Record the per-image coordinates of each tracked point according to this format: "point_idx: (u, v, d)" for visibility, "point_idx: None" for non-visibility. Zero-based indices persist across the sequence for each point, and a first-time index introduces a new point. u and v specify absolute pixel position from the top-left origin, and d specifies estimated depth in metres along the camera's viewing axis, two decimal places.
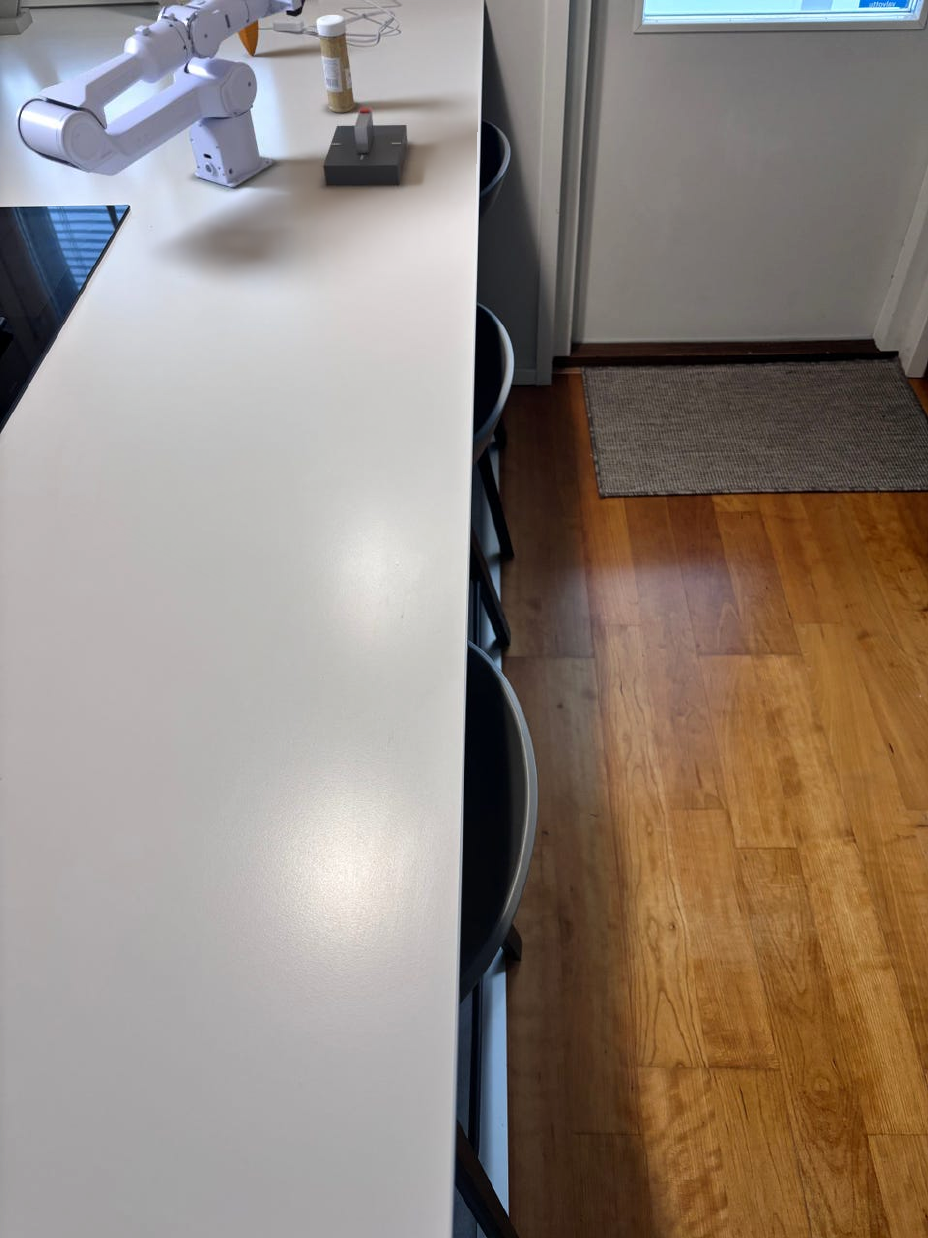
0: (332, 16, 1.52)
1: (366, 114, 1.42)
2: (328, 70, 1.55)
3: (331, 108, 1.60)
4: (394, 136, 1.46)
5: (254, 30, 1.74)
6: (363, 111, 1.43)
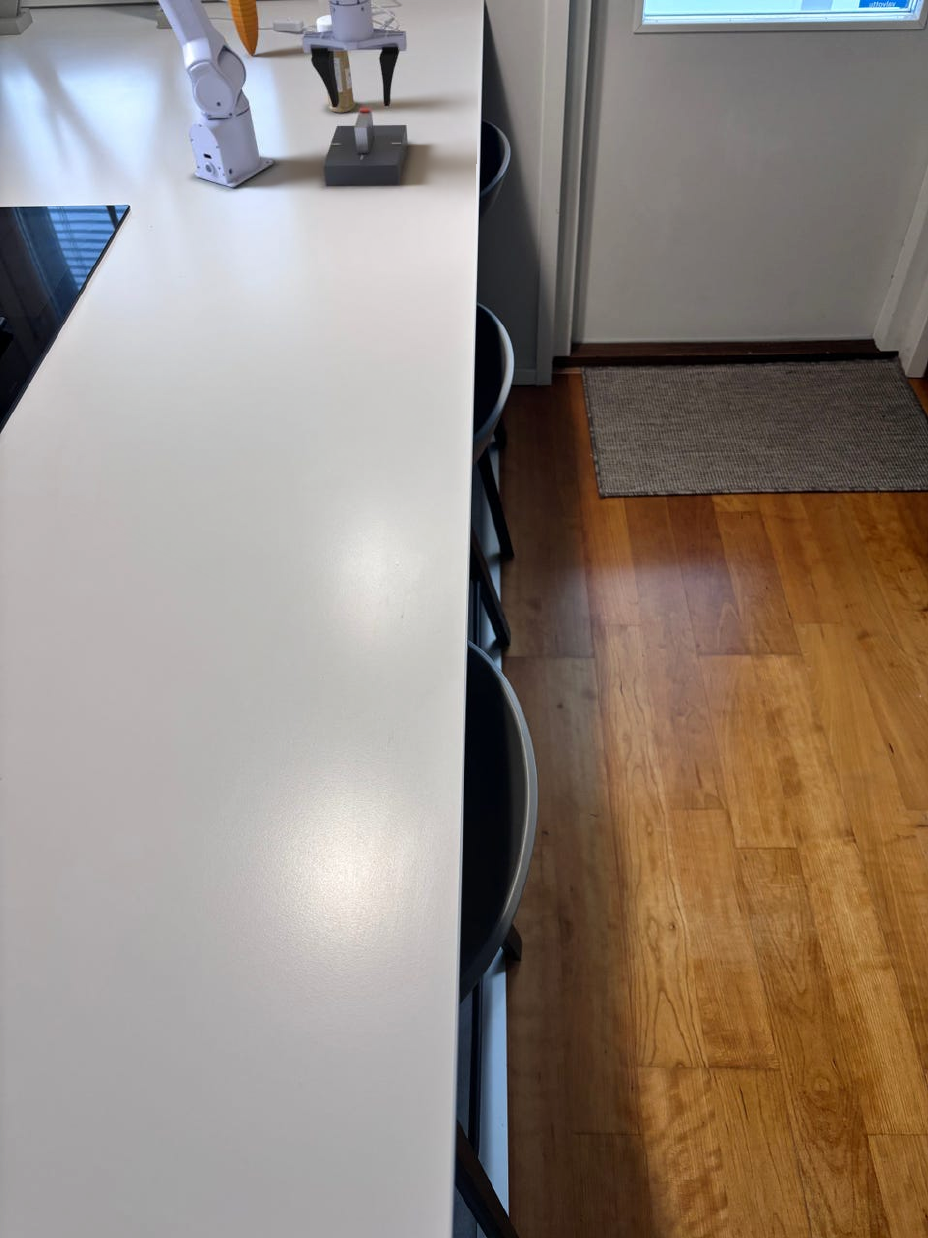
0: None
1: (366, 114, 1.42)
2: None
3: (331, 108, 1.60)
4: (394, 136, 1.46)
5: (254, 30, 1.74)
6: (363, 111, 1.43)
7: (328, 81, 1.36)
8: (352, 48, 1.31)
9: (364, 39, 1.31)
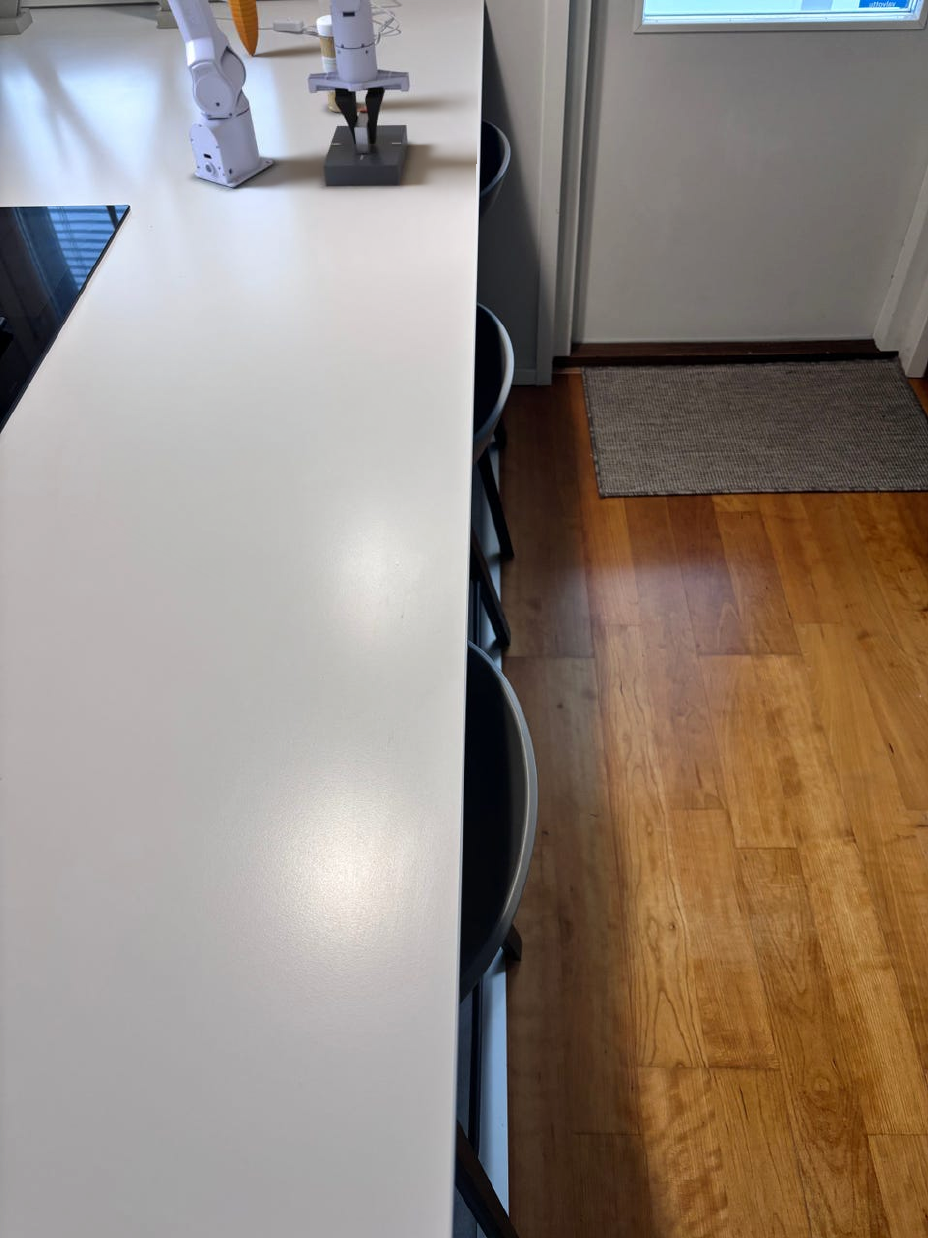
0: None
1: (366, 114, 1.42)
2: (328, 70, 1.55)
3: (331, 108, 1.60)
4: (394, 136, 1.46)
5: (254, 30, 1.74)
6: (363, 111, 1.43)
7: (351, 119, 1.40)
8: (356, 89, 1.35)
9: (368, 80, 1.35)
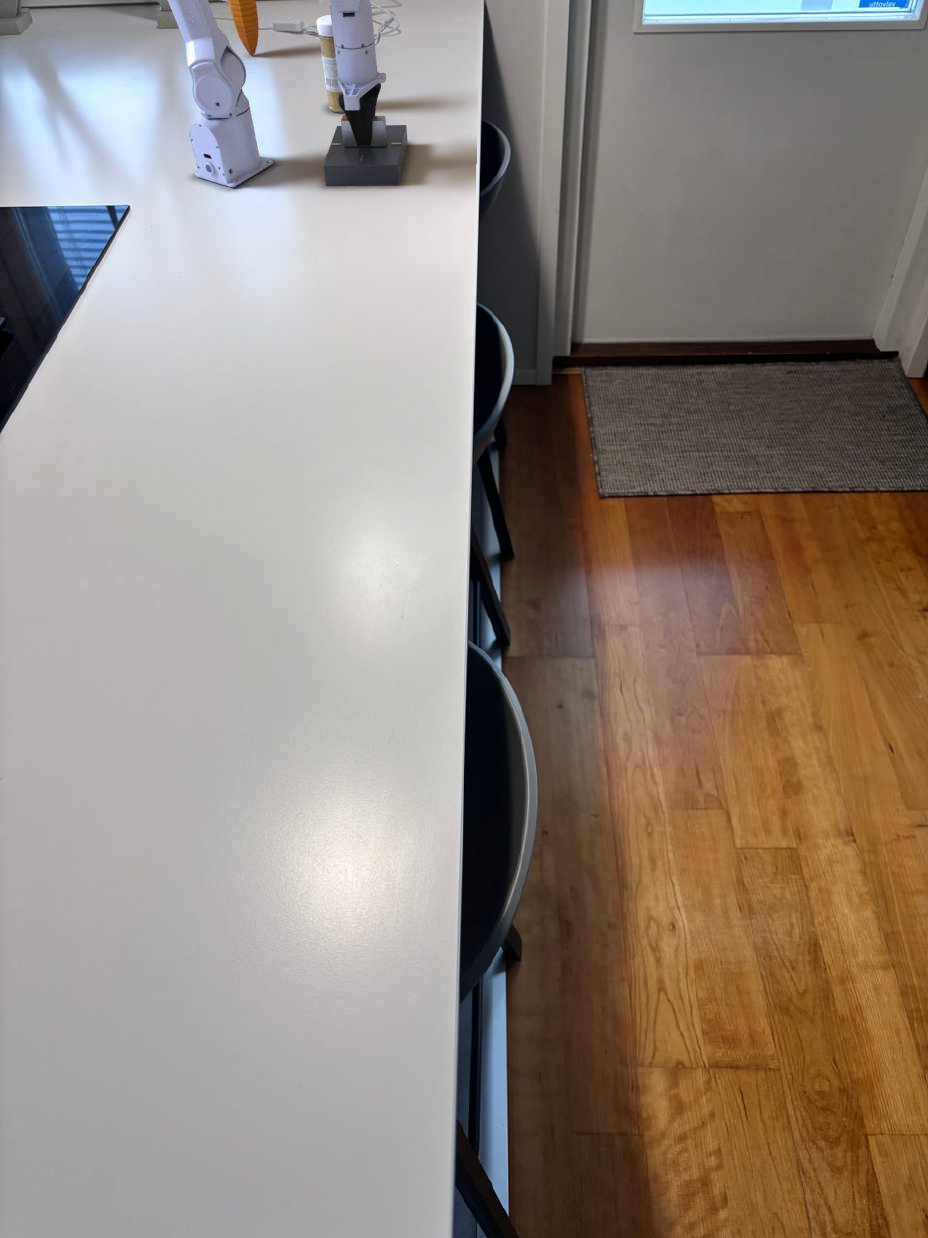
0: None
1: None
2: (328, 70, 1.55)
3: (331, 108, 1.60)
4: (394, 136, 1.46)
5: (254, 30, 1.74)
6: None
7: (372, 119, 1.40)
8: None
9: None
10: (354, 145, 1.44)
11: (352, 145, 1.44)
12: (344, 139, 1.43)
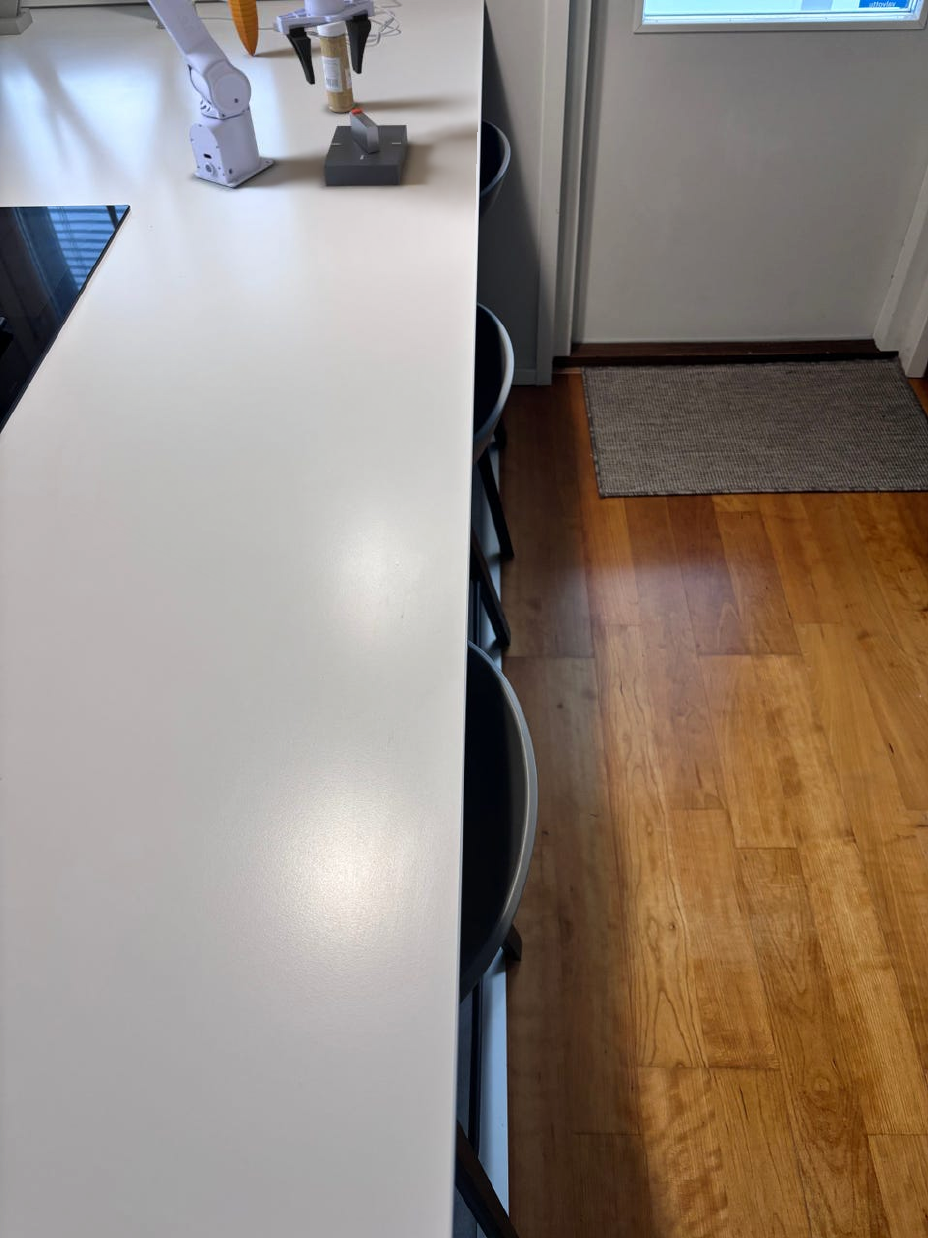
0: None
1: (362, 114, 1.42)
2: (328, 70, 1.55)
3: (331, 108, 1.60)
4: (394, 136, 1.46)
5: (254, 30, 1.74)
6: (356, 112, 1.43)
7: (309, 58, 1.41)
8: (338, 19, 1.37)
9: (342, 10, 1.38)
10: (355, 140, 1.45)
11: (355, 139, 1.45)
12: (351, 130, 1.45)
